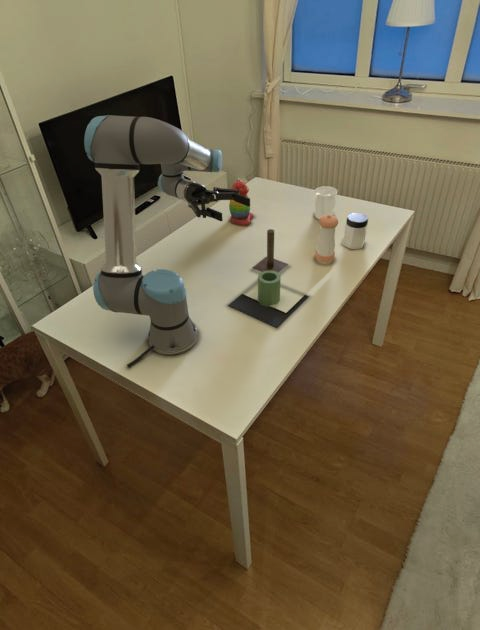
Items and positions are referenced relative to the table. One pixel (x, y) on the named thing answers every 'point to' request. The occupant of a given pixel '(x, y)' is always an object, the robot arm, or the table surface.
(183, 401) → the table surface
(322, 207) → the candle holder
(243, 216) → the stacking bear
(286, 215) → the table surface
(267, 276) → the hollow cylinder
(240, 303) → the placemat
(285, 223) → the table surface
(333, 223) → the pepper shaker
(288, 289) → the table surface
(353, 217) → the jar
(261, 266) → the peg stand
